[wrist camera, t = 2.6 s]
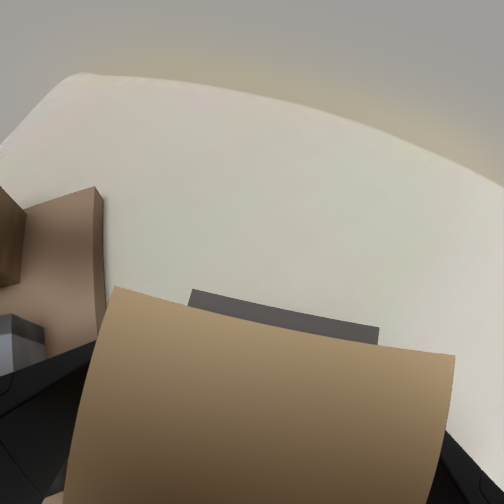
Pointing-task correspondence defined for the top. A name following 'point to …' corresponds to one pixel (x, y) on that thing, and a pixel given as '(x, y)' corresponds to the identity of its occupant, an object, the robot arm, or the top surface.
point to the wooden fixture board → (50, 283)
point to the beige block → (252, 408)
